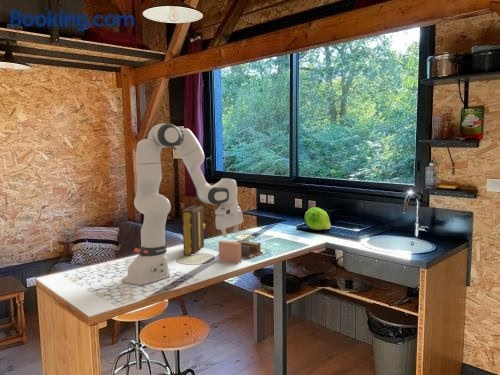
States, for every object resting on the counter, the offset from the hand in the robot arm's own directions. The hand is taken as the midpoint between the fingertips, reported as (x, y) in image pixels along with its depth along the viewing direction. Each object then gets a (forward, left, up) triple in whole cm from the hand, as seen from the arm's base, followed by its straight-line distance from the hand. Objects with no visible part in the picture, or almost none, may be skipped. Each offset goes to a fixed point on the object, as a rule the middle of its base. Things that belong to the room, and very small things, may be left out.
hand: (230, 234), depth 216 cm
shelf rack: (+14, 0, -14) cm, 20 cm away
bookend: (+9, 0, -13) cm, 16 cm away
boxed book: (0, 0, -14) cm, 14 cm away
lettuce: (+94, -10, -14) cm, 95 cm away
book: (+7, +30, -14) cm, 34 cm away
